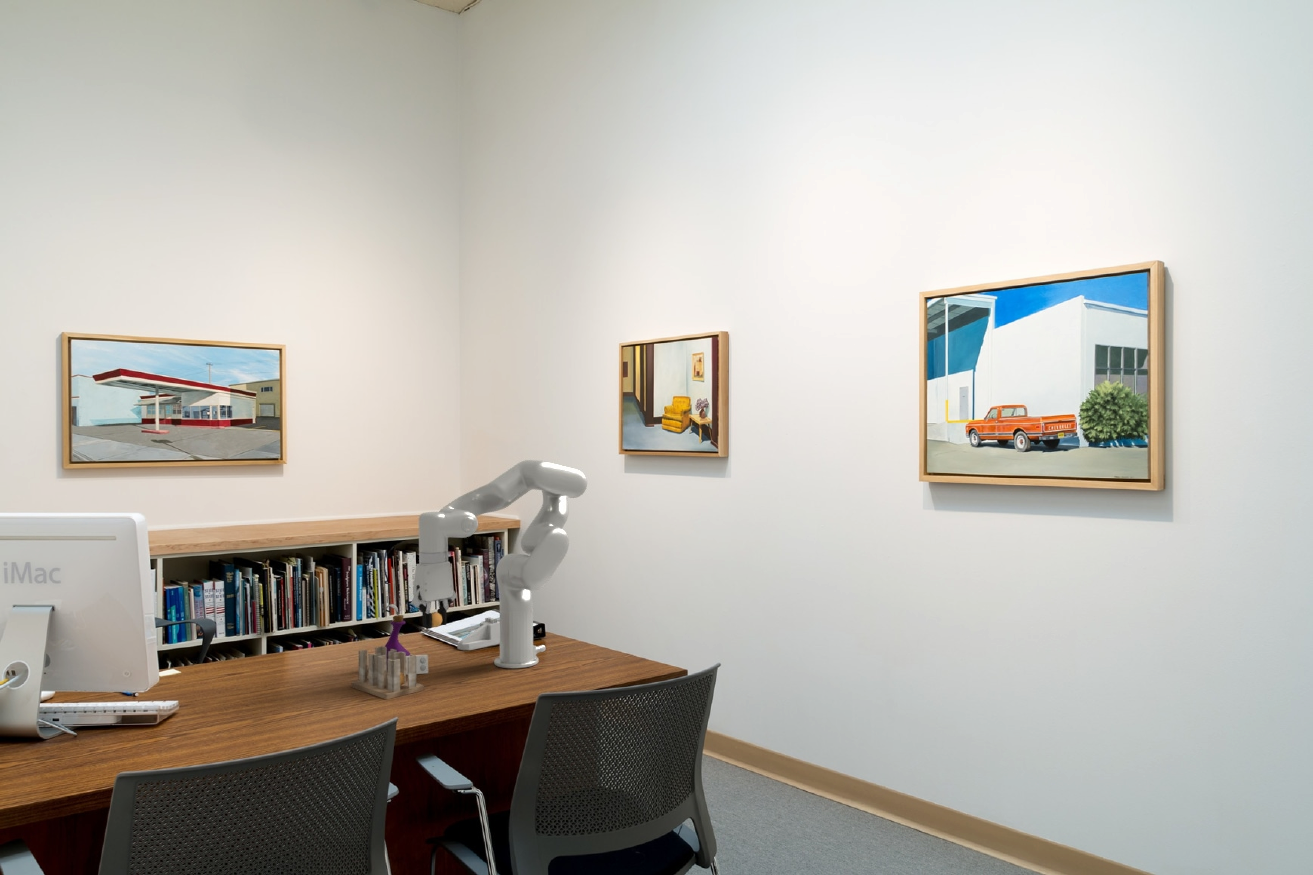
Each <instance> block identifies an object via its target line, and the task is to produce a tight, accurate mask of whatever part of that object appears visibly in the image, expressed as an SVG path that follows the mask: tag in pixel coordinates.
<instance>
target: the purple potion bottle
mask: <svg viewBox="0 0 1313 875" xmlns="http://www.w3.org/2000/svg"><path fill="white" fill-rule="evenodd" d="M389 607H390V608H392V609H394V610H395V611H396V613H397V615H396V614H395V615H393V617H392V620H391V622H390V623H389V624H390V625H391V626H392V630H391V633H390V635H389V638H388V640H387V642H386V643H385V645H384V647H387V671H388V651H390V649H394V650H397V652H405V653H406V656H410V655H411V652H410V651H408V650H407V649H406V648H405V647H404V646H403V645H402V644H401V643H400V642H399V632H400V630H401V628H402V627H403V625H405V624H406V621H405V620H404V618H405V617H404V615H403V614H399V609H398V607H397V605H396V604H393V603H392V604H388V605H387V606H386V607H385V609H384V611H385V613H386V612H387V610H388V608H389Z"/></svg>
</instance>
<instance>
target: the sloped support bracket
mask: <svg viewBox="0 0 1313 875" xmlns="http://www.w3.org/2000/svg"><path fill="white" fill-rule="evenodd" d="M496 645H500V618H494V617H492V618H491V617H489V616H488V617H485V618H484V621H483V620H482V621H481V622H480V623H479V627H478V628H476V629H475V630H473V631H472V632H471V633H469V634H468V635H467V636H465V637H464V638H462V639H461V640H459V641H458V642H457V650H461V651H473V650H478V649H483V648H487V647H490V646H496Z"/></svg>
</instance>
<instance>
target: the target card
mask: <svg viewBox="0 0 1313 875" xmlns="http://www.w3.org/2000/svg"><path fill="white" fill-rule="evenodd" d="M408 657H410V655H409V656H406V676H408ZM419 674H429V654H417V655H416V675H419Z"/></svg>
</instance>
